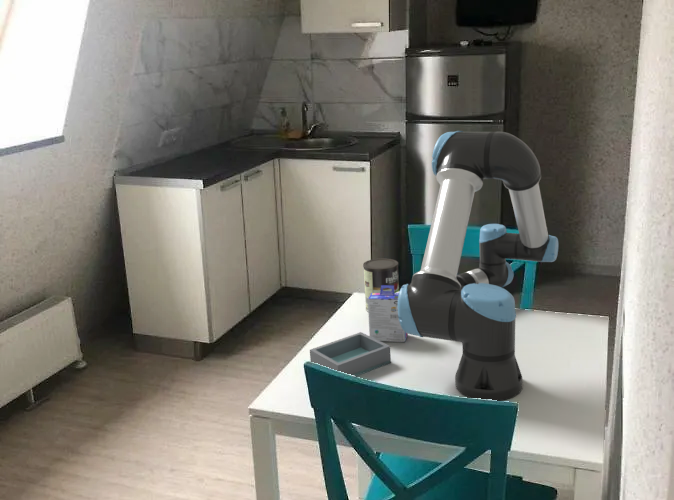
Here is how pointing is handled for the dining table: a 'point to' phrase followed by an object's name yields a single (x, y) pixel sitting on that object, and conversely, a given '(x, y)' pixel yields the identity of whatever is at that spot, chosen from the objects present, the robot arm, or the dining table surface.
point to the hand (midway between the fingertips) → (412, 303)
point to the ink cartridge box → (385, 316)
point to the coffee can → (380, 276)
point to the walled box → (352, 354)
